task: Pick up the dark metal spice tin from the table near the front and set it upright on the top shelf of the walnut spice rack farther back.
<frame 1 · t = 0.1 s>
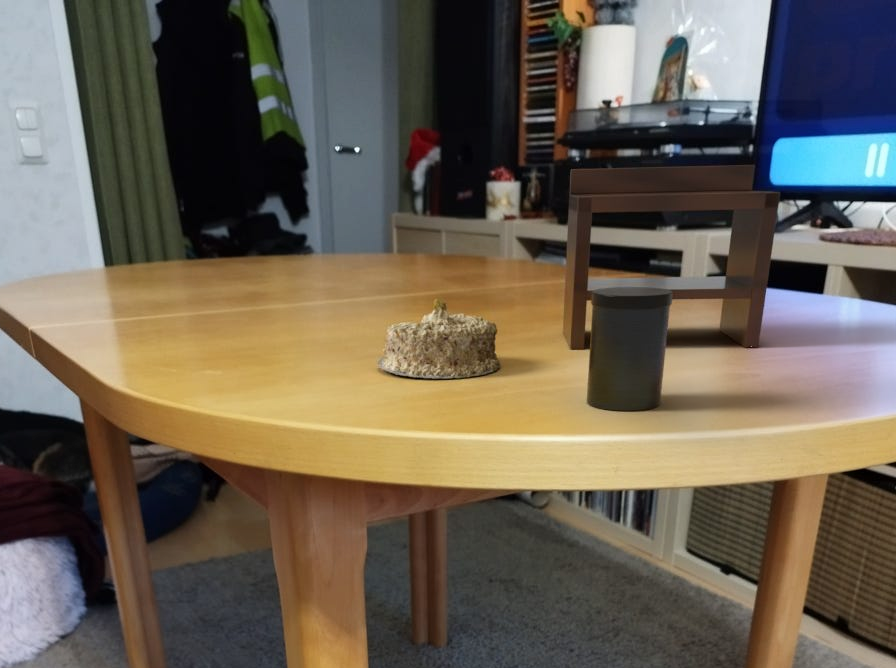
spice tin: (623, 402, 61), on the table
spice rack: (654, 339, 84), on the table
cake: (439, 369, 74), on the table
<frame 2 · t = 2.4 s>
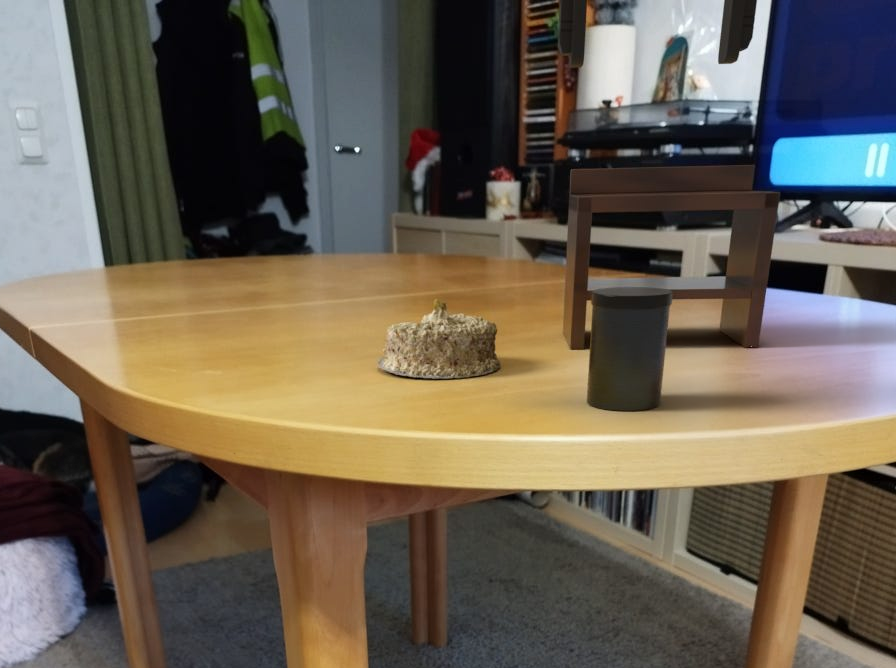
hand: (651, 64, 53), 19 cm above the table, tool pointing down, fingers open, 8 cm apart
nothing on the table moved.
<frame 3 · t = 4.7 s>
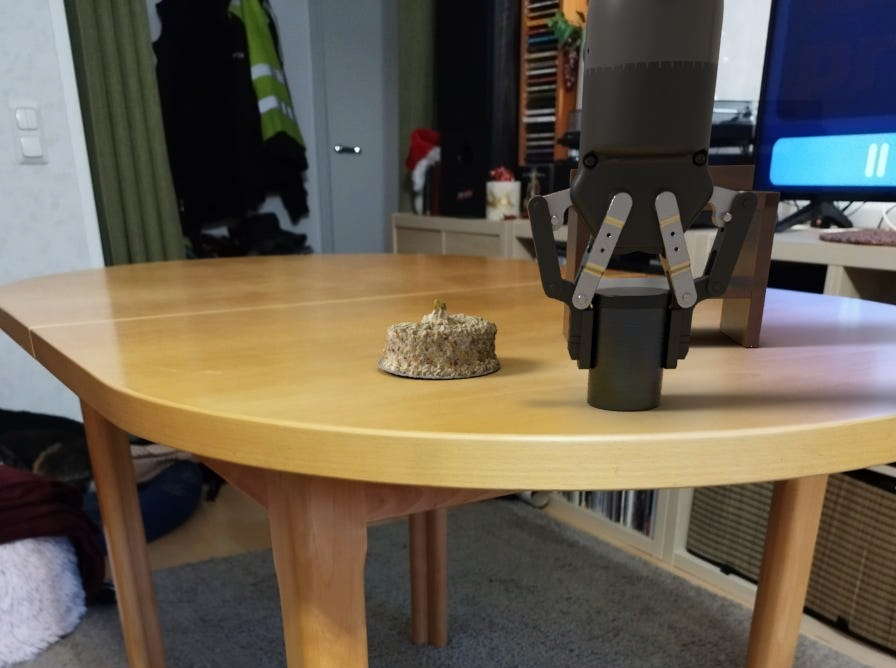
hand: (626, 366, 60), 2 cm above the table, tool pointing down, fingers closed on spice tin, 5 cm apart
spice tin: (623, 402, 61), on the table, touching gripper
everything else where it was.
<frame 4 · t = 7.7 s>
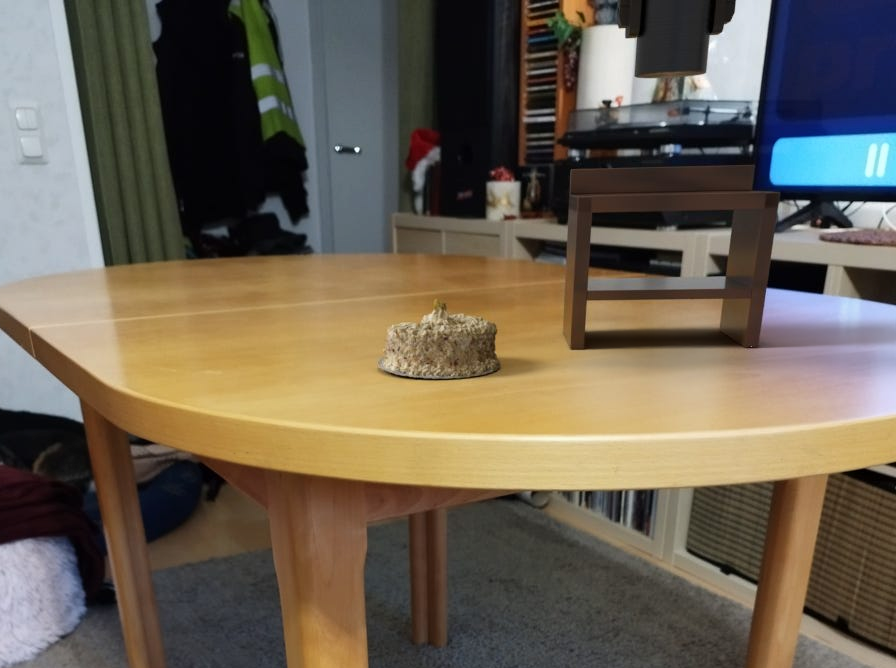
hand: (673, 33, 62), 22 cm above the table, tool pointing down, fingers closed on spice tin, 5 cm apart
spice tin: (670, 74, 64), point 20 cm above the table, touching gripper
everything else where it was.
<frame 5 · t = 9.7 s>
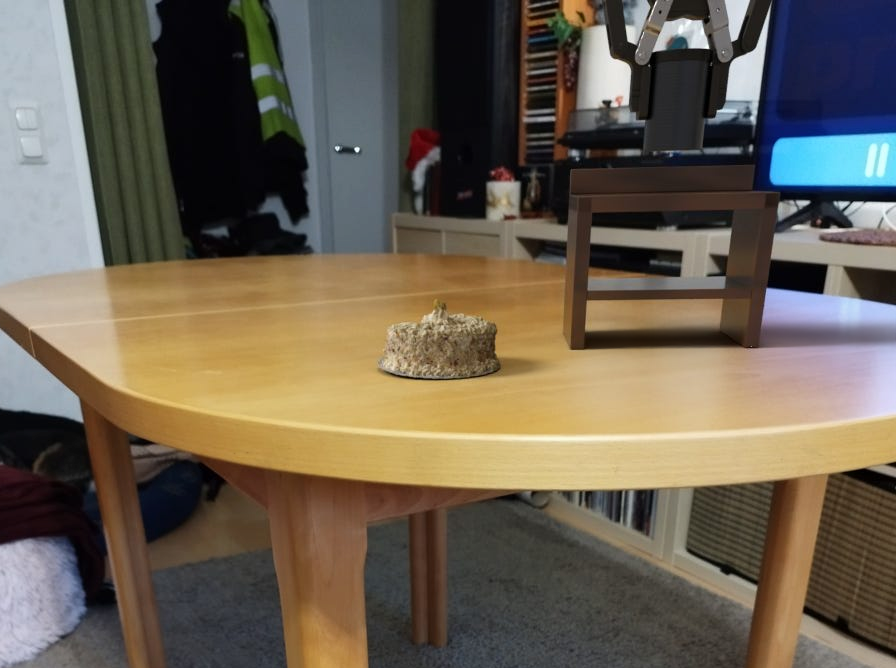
hand: (675, 118, 76), 18 cm above the table, tool pointing down, fingers closed on spice tin, 5 cm apart
spice tin: (672, 150, 77), point 15 cm above the table, touching gripper
everything else where it was.
when the fingers open (14 cm above the table, at t = 11.0 s): spice tin stays where it is, resting on spice rack.
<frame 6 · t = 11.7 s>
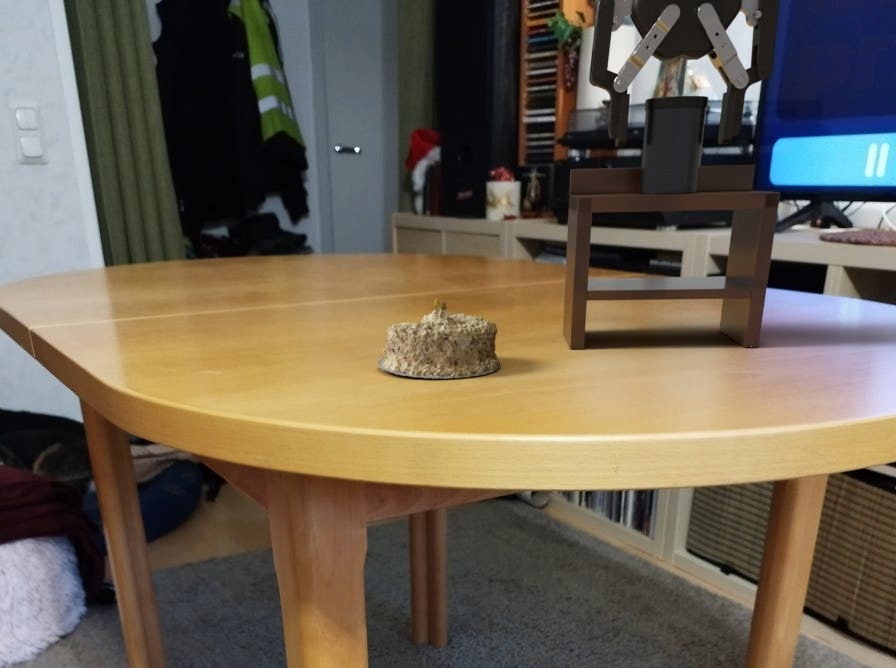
hand: (672, 144, 77), 16 cm above the table, tool pointing down, fingers open, 8 cm apart
spice tin: (668, 193, 79), point 12 cm above the table, touching spice rack
everything else where it was.
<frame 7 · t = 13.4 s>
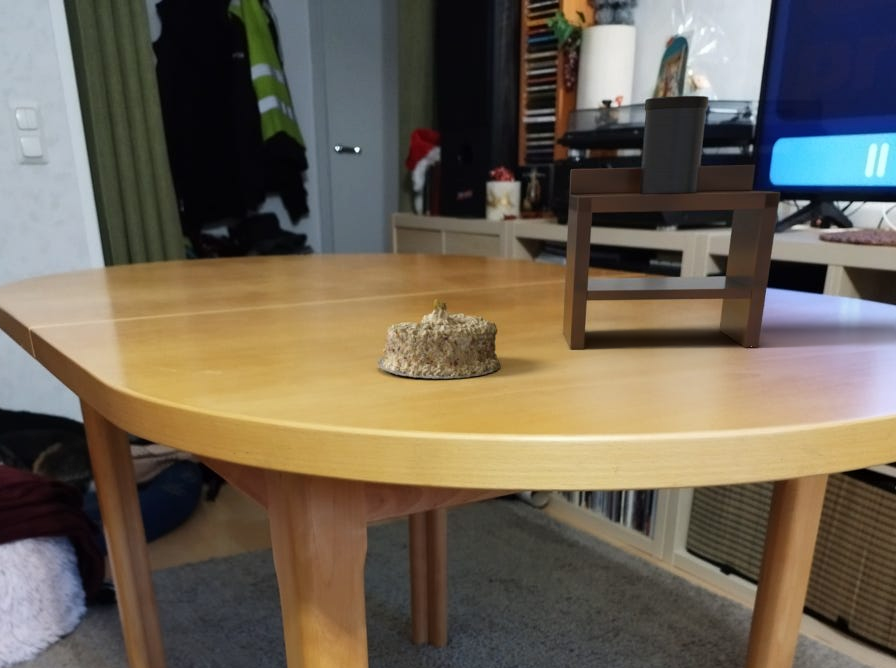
nothing on the table moved.
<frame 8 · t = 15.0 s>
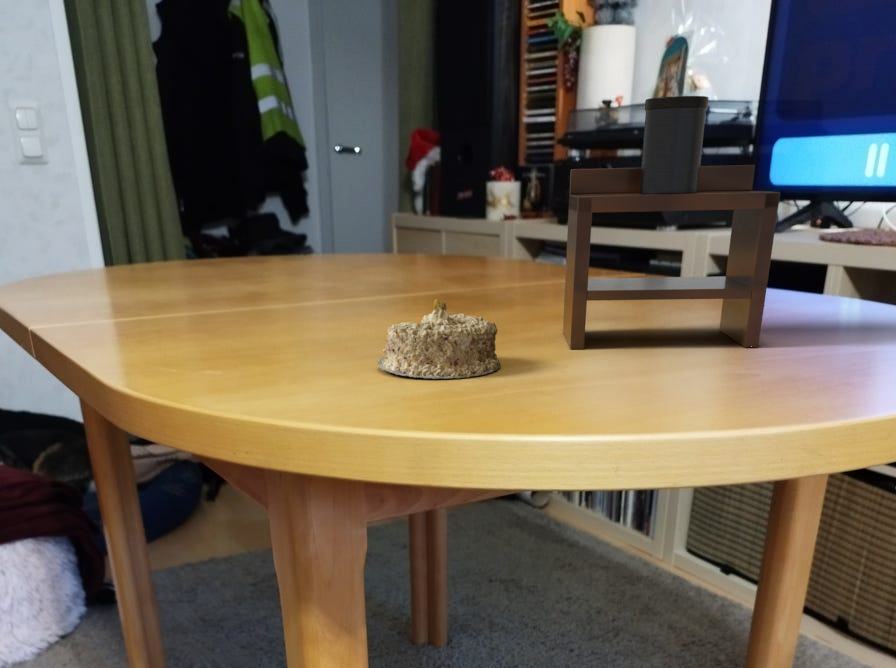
nothing on the table moved.
at the end: spice tin inside the target area on the spice rack (0.1 cm from its centre), point 12.0 cm above the spice rack's base; spice tin tilted 0°; the gripper is holding nothing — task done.
